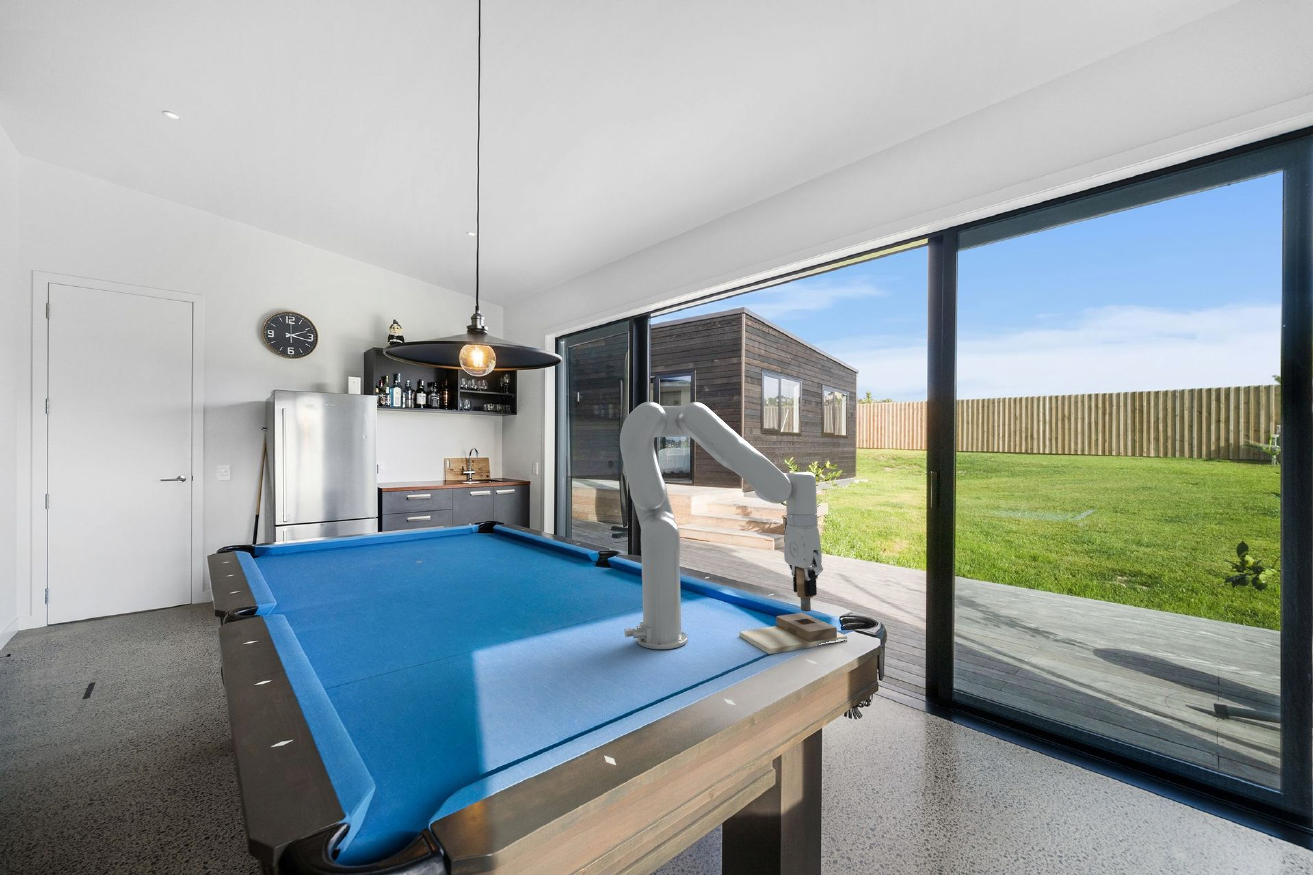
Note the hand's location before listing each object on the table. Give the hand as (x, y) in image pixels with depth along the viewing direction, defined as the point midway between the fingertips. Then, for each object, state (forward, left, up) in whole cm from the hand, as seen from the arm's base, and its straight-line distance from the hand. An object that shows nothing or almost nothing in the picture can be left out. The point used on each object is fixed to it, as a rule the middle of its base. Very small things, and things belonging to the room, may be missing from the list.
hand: (805, 592), depth 139 cm
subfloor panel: (-4, 0, -11) cm, 12 cm away
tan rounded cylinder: (0, 0, -4) cm, 4 cm away
